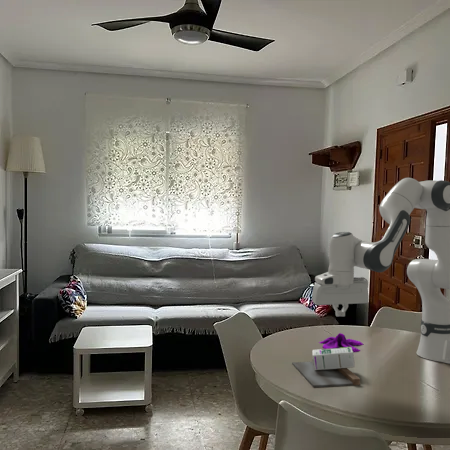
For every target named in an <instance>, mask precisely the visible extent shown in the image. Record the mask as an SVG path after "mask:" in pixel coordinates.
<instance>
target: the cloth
mask: <svg viewBox="0 0 450 450" xmlns="http://www.w3.org/2000/svg"><path fill="white" fill-rule="evenodd" d="M318 343H319V344H321V345H322V349H329V348H342V347H352V350H353V353H357V352H358V353H359V352H361V349H359V348H357V347H355V346H358V347H359V346H363V345H364V343H363V342H361V341H359V340H356V339H352V338H346V335H345V334H343V333H341V332H340V333H338V334H337V335H336V336H335V337H334V336H329V337H326V338H325V339H324V340H321V341H319V342H318Z"/></svg>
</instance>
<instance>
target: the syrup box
mask: <svg viewBox="0 0 450 450" xmlns="http://www.w3.org/2000/svg"><path fill="white" fill-rule="evenodd" d="M311 353H312V362H313V365H314V369H315V370H325V369H339V368H347V369H350V368H351V369H352V368H355V367H356V366H355V357H354V355H355V354H354V352H353V350H352V347H340V348H329V349H324V348H319V349H318V348H317V349H312V352H311Z"/></svg>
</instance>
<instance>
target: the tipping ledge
mask: <svg viewBox="0 0 450 450" xmlns="http://www.w3.org/2000/svg"><path fill="white" fill-rule="evenodd" d="M292 365H293V366H294V368H296V370H297V371H298V372H299V373H300V374H301V376H302V377H304V379H306V381H307V382H308V383H309V384H310V385H311V386H312V387H313V388H324V387H341V386H342V387H344V386H346V387H347V386H360V385H361V378H360V377H359V376H357V375H356V374H355V373H354V372H352V371H351V370H349V369H350V368H339V369H325V370H315V369H314V365H313V361H296V362H295V361H293V362H292Z"/></svg>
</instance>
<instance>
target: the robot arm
mask: <svg viewBox="0 0 450 450" xmlns="http://www.w3.org/2000/svg"><path fill="white" fill-rule="evenodd" d="M378 207H379V208H378V209H379V214H380V216H381V217H382V219H383V220H384V221H385V222H386V224H388V225H389V226H388V228H387V229H386V231H385V234H384V235H383V237H382V239H381V240H378V241H375V242H374V241H373V242H371V241H365V240H362V239H359V238H357V237H356V236H354V234H353V233H352V232H349V231H340V232H336V233H334V234H332V235H331V236H330V239H329V244H328V261H329V263H328V264H329V266H328V270H327V271H326V272H324V273H322V274H318V275H316V276H315V277H314V281H315V282H316V283H314V285H313V287H312V294H311V300H312V302H313V304H314V305H317V306H325V305H326V306H327V305H328V306H331V305H332V308H333V309H334V311H335V312H334V313H335V316H336V317H346V312H347V310H348V308H349V305H353V304H354V305H356V304H358V305H359V304H367V303H368V302H369V299H370V298H369V289H368V288H369V280H368V279H367V278H365V277H363V276H360V277H357V276H356V277H355V268H354V267H356V268H361V269H366V270H370V271H373V272H376V273H383V272H386V271H387V270H388V269H389V268H390V267H391V266H392V263H393V260H394V259H395V258H394V257H395V254H396V252H397V250H398V248H399V246H400V244H401V243H402V240H403V238H405V237H404V236H405V235H406V233H407V230H408V229H409V227H410V224H411V216H410V215H411V213H412V212H413V211H414V209H418V210H419V209H420V210H425V211H426V218H425V219H426V220H425V231H424V232H425V235H424V239H425V241H424V243H425V245H426V247H427V248H428V249H429V250H431V251H433V252H434V254H435V255H436V258H437V259H430V258H418V259H417V258H416V259H413V260H411V261H410V262H409V263H408V264H407V267H406V268H407V269H406V275H407V277H408V279H409V281H411V283H412V284H413V285H414V286H415V288H416V289H417V290H418V293H419V295H420V298H421V305H422V307H421V310H422V311H421V314H422V315H421V317H422V318H421V320H420V338H419V343H418V346H417V350H416V353H415V354H417V355H418V356H419V357H421V358H422V359H423V358H424V359H427V360H430V361H435V362H440V363H445V364H450V299H449V298H448V297H446V296H445V295H444V294H443V293H442V291H441V289H444V290H445V289H446V290H450V181H448V180H442V179H441V180H432V179H431V180H428V179H427V180H424V181H418V180H417V179H415V178H412V177H404V178H402V179H401V180H399V181H397V182H396V183H395V184H394V186H392V188H390V190H389V191H388V192H387V194H386V195H385V196H384V197H383V199H382V200H381V202H380V204H379V206H378ZM339 305H342V308H341V310H340V309H338V308H339Z"/></svg>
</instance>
